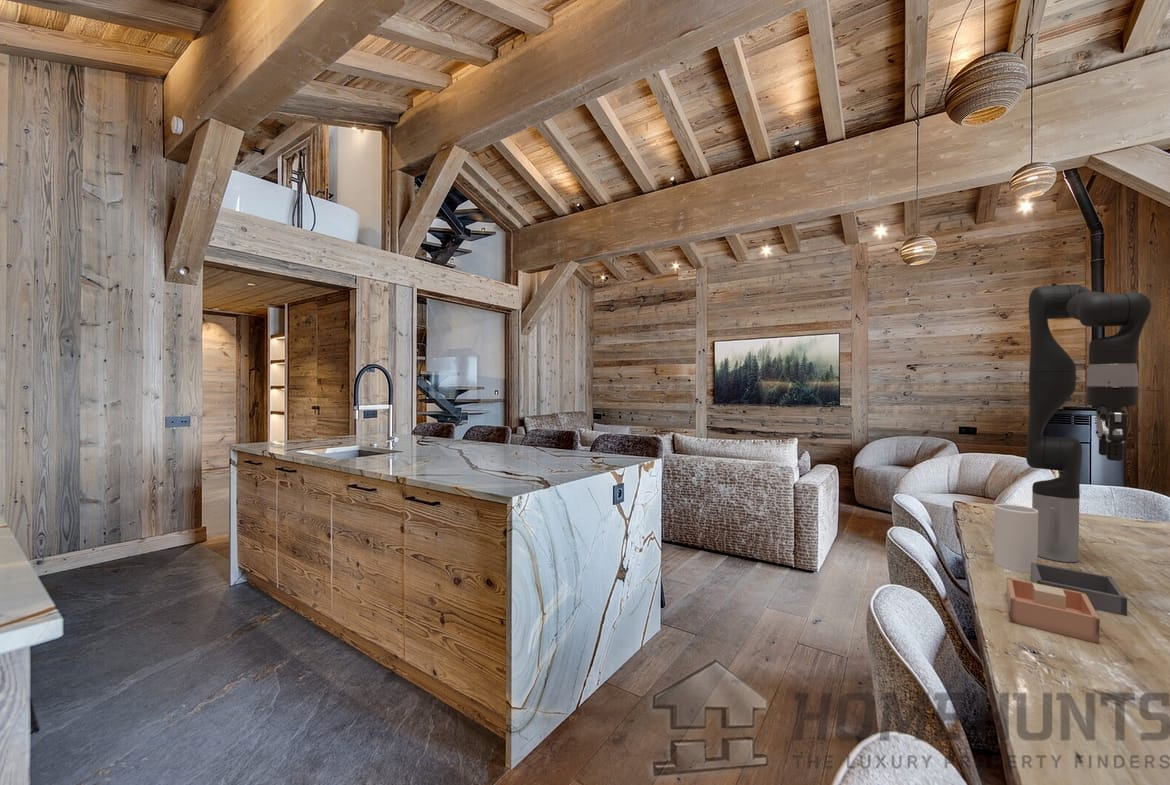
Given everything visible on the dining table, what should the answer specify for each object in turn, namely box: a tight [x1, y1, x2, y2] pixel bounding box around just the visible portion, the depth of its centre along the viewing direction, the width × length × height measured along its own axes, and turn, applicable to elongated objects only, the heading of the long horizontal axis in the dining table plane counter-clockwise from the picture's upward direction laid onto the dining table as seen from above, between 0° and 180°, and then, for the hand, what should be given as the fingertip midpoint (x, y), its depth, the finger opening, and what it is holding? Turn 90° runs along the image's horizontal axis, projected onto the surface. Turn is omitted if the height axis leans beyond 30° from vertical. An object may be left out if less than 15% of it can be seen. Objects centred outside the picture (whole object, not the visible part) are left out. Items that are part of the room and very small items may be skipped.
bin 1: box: [1006, 577, 1101, 644], centre depth 94 cm, size 14×12×4 cm
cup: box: [993, 503, 1039, 573], centre depth 119 cm, size 8×8×16 cm
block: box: [1032, 582, 1066, 610], centre depth 94 cm, size 4×4×5 cm
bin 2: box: [1030, 562, 1128, 617], centre depth 103 cm, size 14×13×4 cm
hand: (1110, 457), depth 103 cm, fingers open, 8 cm apart
